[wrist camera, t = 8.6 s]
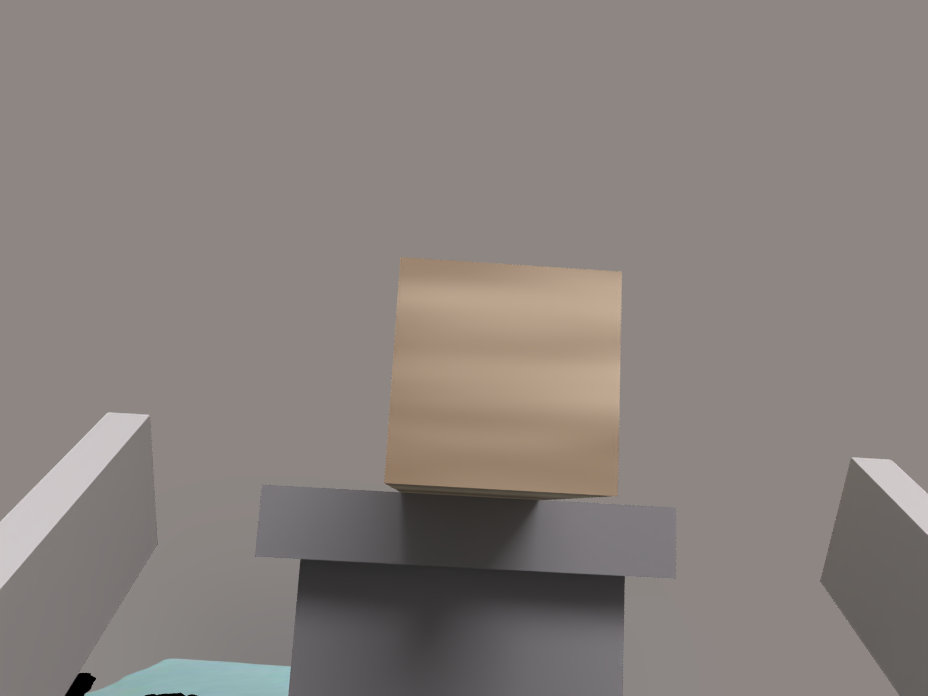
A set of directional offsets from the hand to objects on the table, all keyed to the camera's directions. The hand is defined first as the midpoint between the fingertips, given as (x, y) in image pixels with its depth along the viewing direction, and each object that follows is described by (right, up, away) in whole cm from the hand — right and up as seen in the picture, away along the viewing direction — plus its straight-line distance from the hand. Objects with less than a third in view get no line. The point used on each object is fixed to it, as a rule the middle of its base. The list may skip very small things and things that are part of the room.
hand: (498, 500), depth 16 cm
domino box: (-1, -2, +11) cm, 11 cm away
